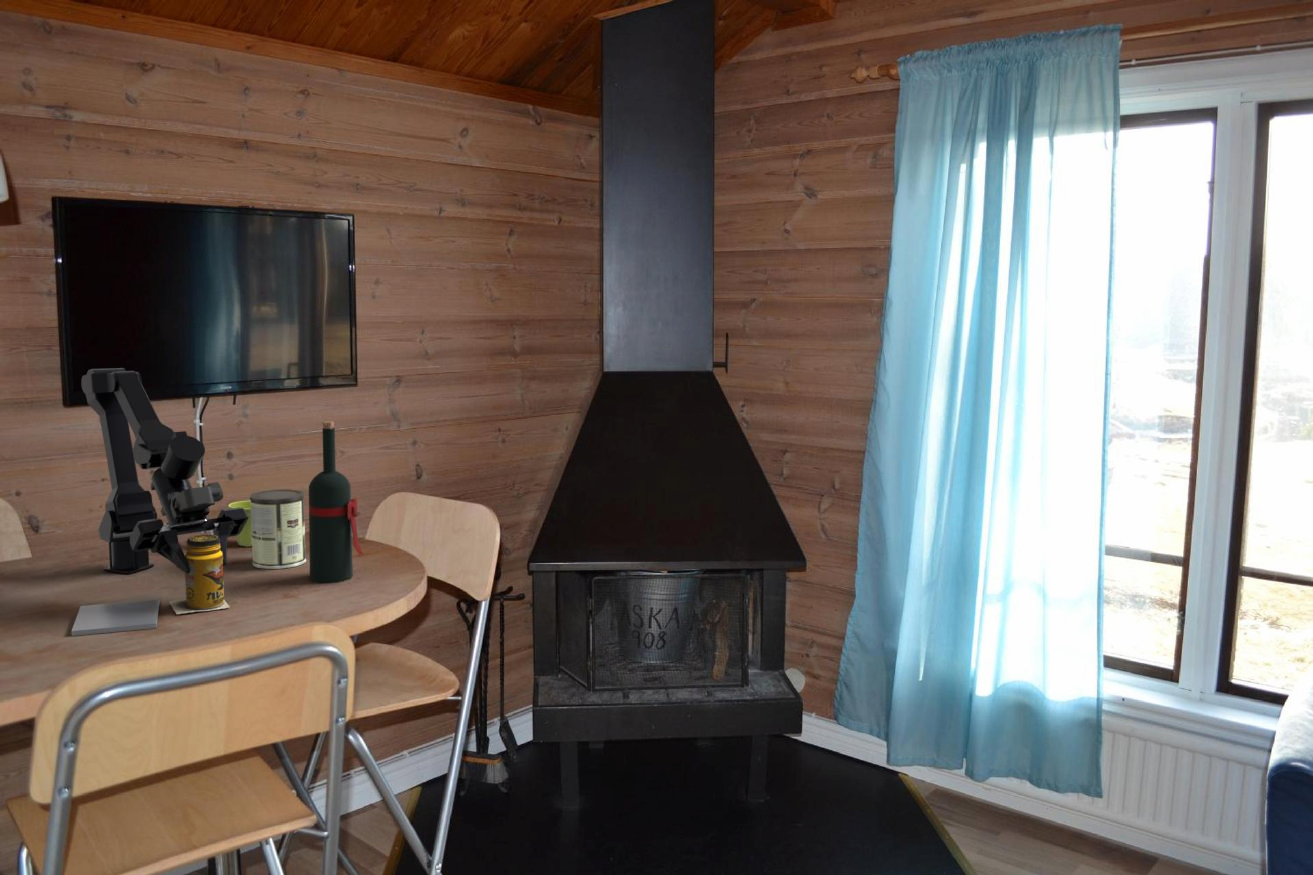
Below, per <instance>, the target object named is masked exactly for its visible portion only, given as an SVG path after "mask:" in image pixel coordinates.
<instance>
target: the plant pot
mask: <svg viewBox="0 0 1313 875" xmlns="http://www.w3.org/2000/svg"><path fill="white" fill-rule="evenodd" d="M227 505H228V509H230V508H237V507H241V508H243V509H244V510H245V511H246V513H247V515H248V517H249V518H248V520H247V522H246V524H245V526H244V527H243V529H242V531H241V533H240V534H239V535H237V536H236V541H237V544H238V546H240V547H246V548H247V547H248V548H249V547H252V527H251V500H240V501H235V502H231V503H229V504H227Z"/></svg>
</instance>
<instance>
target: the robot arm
mask: <svg viewBox="0 0 1313 875" xmlns="http://www.w3.org/2000/svg"><path fill="white" fill-rule="evenodd" d="M86 372H87V373H86V374H84V375H82V377H81V383H80V384H81V385H80V386H81V389H82V391H83V393H84V394H85V397H86V398H85V399H86V402H87V405H89V407H90V408H92V410H93V411H94V412H95V413H96V414H97V415H98V416H99V421H100V426H101V433H102V438H103V444H104V445H103V446H104V451H105V455H106V460H107V461H106V462H107V468H108V469H107V470H108V474H109V480H110V485H111V491H110V493H109V494H108V497H107V500H106V501H105V505H104V506H105V512H104V515H103V516H102V519H101V522H100V524H99V527H98V534H99V538H100V540H101V541H103V542H107V543H108V551H109V552H108V554H109V566H105V567H103V568H102V569H103V570H102V571H103V572H112V573H113V572H114V573H119V574H125V575H126V574H128V575H129V574H133V573H137V572H140V571H143V570H146V569H149V568H152V567H153V568H154V567H155V564H154V563H153V562H150V555H149V550H150V552H151V554H155V553H156V554H159V555H160V556H161V557H163V558H165V559H167V560H168V561H169V562H171V563H172V564H173V565H175V566H176V567H177V568H178V569H179V570H180V571H182V572H183V573H184V574H185V573H186V574H188V573H189V572H190V568H189V565H188V562H187V559H186V557H185V555H186V554H185V552H184V551H183V549H182V547H181V544H180V542H179V536H184V535H189V534H197V533H204V532H209V533H210V535H215V536H218V537H219V539H220V551H221V552H222V553H223V568H225V567H226V566H227V564H228V555H227V553H228V548H227V546H228V539H229V538H232V537H237V535H239V534H240V533H241V531H242V529H243V527H244V526H245V524H246V522H247V520H248V518H249V517H248V515H247V513H246V511H245V510H244V509H243V508H241V507H237V508H225V509H224V508H222V509H221V510H220V512H219V514H218V516H217V518H207V519H206V516H208V515H209V514H210V512H211V509H210V507H211V506H214V505H216V503H218V502H220V501H221V500H223V499H224V491H223V489H222V486H221V484H220V483H219V482H218V481H216V482H209V483H208V484H205V486H200V487H193V485H192V483H191V480H190V479H191V478H193V477H194V476H195V475H196V472H197V470H198V469H199V466H200V464H201V462H202V460H203V457H204V456H205V453H206V449H205V445H204V444H203V443H202V441H200V440H199V439H197V438H196V437H193V436H190V435H188V433H187V431H185V430H184V431H183V430H181V431H180V430H179V431H174V429H172V428H171V427H169V426H167V425H166V424H164V423H162V422H161V419H160V418H159V416H158V414H157V412H156V410H155V408H154V406H153V404H152V403H151V400H150V399H149V396H148V394H147V392H146V390H145V388H144V386H143V379H142V376H141V373H140V372H139V371H134V370H126V369H125V368H124V367H120V368H119V367H118V368H117V367H116V368H115V367H114V368H91V369H88V371H86ZM130 429H131V430H132V433H133V435H134V438H135V441H134V444H133V441H132V436H131V431H130ZM137 465H138V466H139V468H140V469H141V470H155V471H154V472H153V474H152V475H151V479H150V480H151V482H150V490H151V491H155V492H156V495H157V497H158V500H159V502H160V505H161V507H162V508H161V509H160V513H161V514H160V515H162V517H166V519H167V522H163V519H161V518H158V512H157V510H156V508H155V506H154V504H153V497H152V496H153V494H152V493H151V492H150V491H149V490H145V489H144V488H143V487H142V485H141V484H140V482H139V478H138V477H139V476H138V471H137V470H138V469H137Z"/></svg>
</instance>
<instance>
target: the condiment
mask: <svg viewBox="0 0 1313 875" xmlns="http://www.w3.org/2000/svg"><path fill="white" fill-rule="evenodd" d="M186 551H187V552H186V553H185V554H184V555H185V557H186V559H187V562H188V565H189V568H190V572H189V573H188V574H186V573H185V572H184V574H185V577H184V578H185V600H173V601H171V600H170V601H169V604H170V605H171V606H170V607H171V608H172V609H173V611H174V612H175V614H176V615H182V614H188V613H195V612H207V611H208V612H209V611H216V610H221V609H222V610H223V609H227V608H228V609H229V608H231V606H230V605H229V603H227V602H226V600H225V592H224V591H225V586H224V584H225V582H224V581H225V579H224V567H223V553H222V552H221V551H220V539H219V537H218V536H215V535H211V534H199V535H197V534H196V535H194V536H190V537H188V538H187V539H186Z"/></svg>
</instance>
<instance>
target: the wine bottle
mask: <svg viewBox="0 0 1313 875" xmlns="http://www.w3.org/2000/svg"><path fill="white" fill-rule="evenodd" d="M335 431H336V428H335V421H332V420H331V421H329V420H328V421H327V420H325V421H323V422H322V464H323V465H322V468H323V469H322V471H321V472H319V473H318V474H316V475H315V476H313V478H312V479H311V481H310V483H309V485H308V529H309V530H308V532H309V534H308V535H309V537H308V539H309V540H308V541H309V580H310V581H312V582H315V583H321V584H331V583H330V582H335V583H341V582H340V581H342V582H345V581H344V580H346V581H348V580H347V579H349V578H351V579H352V578H353V576H354V572H353V569H354V566H353V546H354V547H355V550H356V552H357V553H358V556H359V558H362V557H361V555H362V556H365V555H364V553H363V551H362V549H361V546H360V543H359V537H358V530H357V521H356V520H357V519H356V518H357V517H358V499H357V497H353V498H351V497H352V494H351V493H352V492H351V491H352V488H351V483H350V480H349V479H348V478H347V477H346V476H345V474H342V473H341V472H339V471H337V470H336V433H335ZM349 580H350V579H349ZM328 582H329V583H328Z"/></svg>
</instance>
